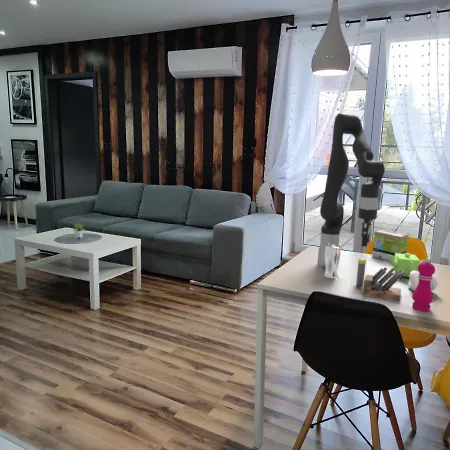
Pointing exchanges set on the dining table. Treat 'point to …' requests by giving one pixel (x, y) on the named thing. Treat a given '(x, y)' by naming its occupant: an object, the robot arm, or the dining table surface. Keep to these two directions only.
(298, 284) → the dining table surface
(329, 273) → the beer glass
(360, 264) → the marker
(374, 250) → the tea box
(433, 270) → the pepper mill
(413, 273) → the white knot
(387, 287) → the knife block
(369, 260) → the dining table surface
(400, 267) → the kettle
